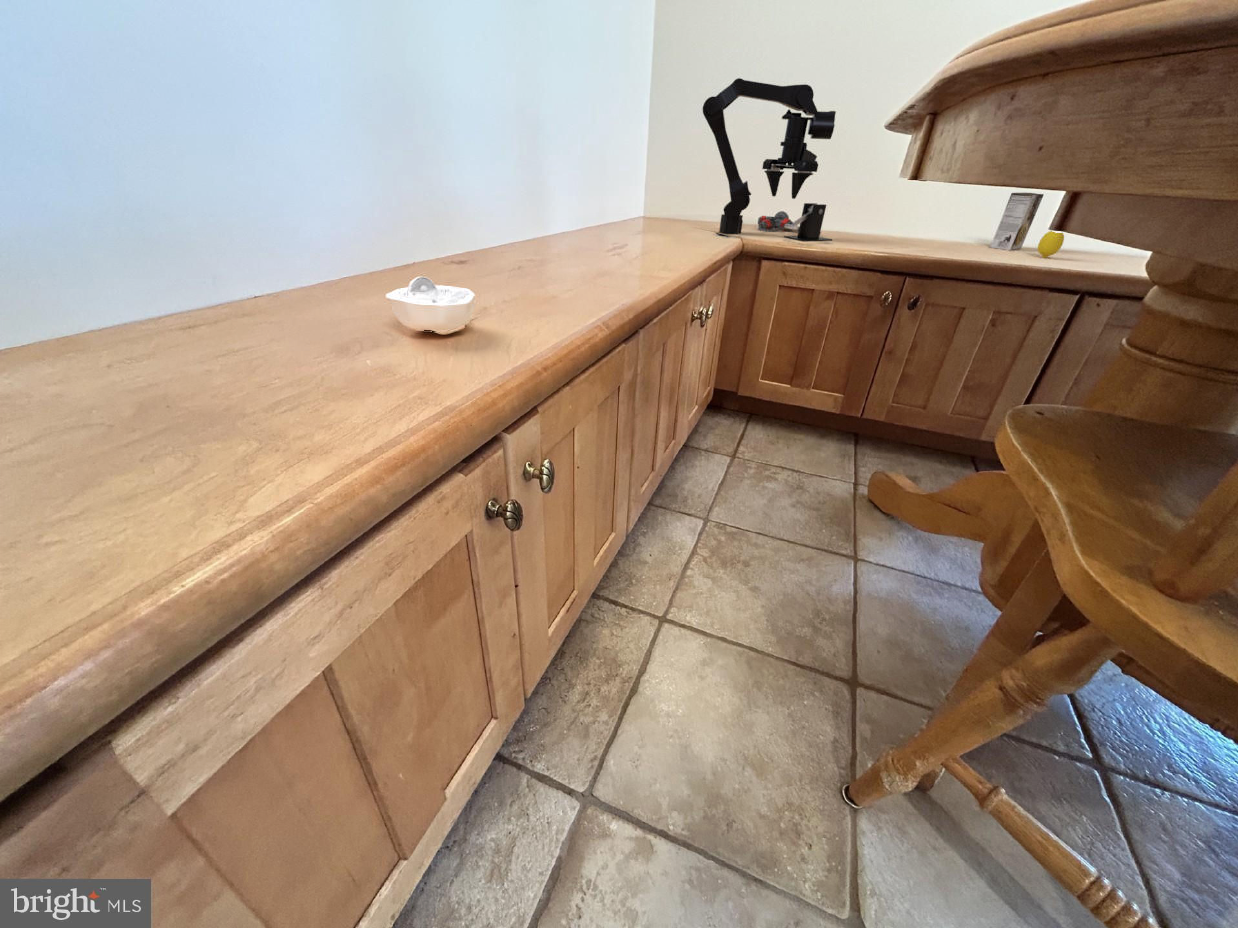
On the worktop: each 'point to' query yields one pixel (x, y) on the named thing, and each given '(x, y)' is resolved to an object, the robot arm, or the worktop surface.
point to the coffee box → (1016, 220)
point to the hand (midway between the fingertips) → (783, 197)
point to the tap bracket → (811, 224)
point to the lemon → (1050, 243)
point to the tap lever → (799, 220)
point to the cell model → (432, 305)
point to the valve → (775, 223)
